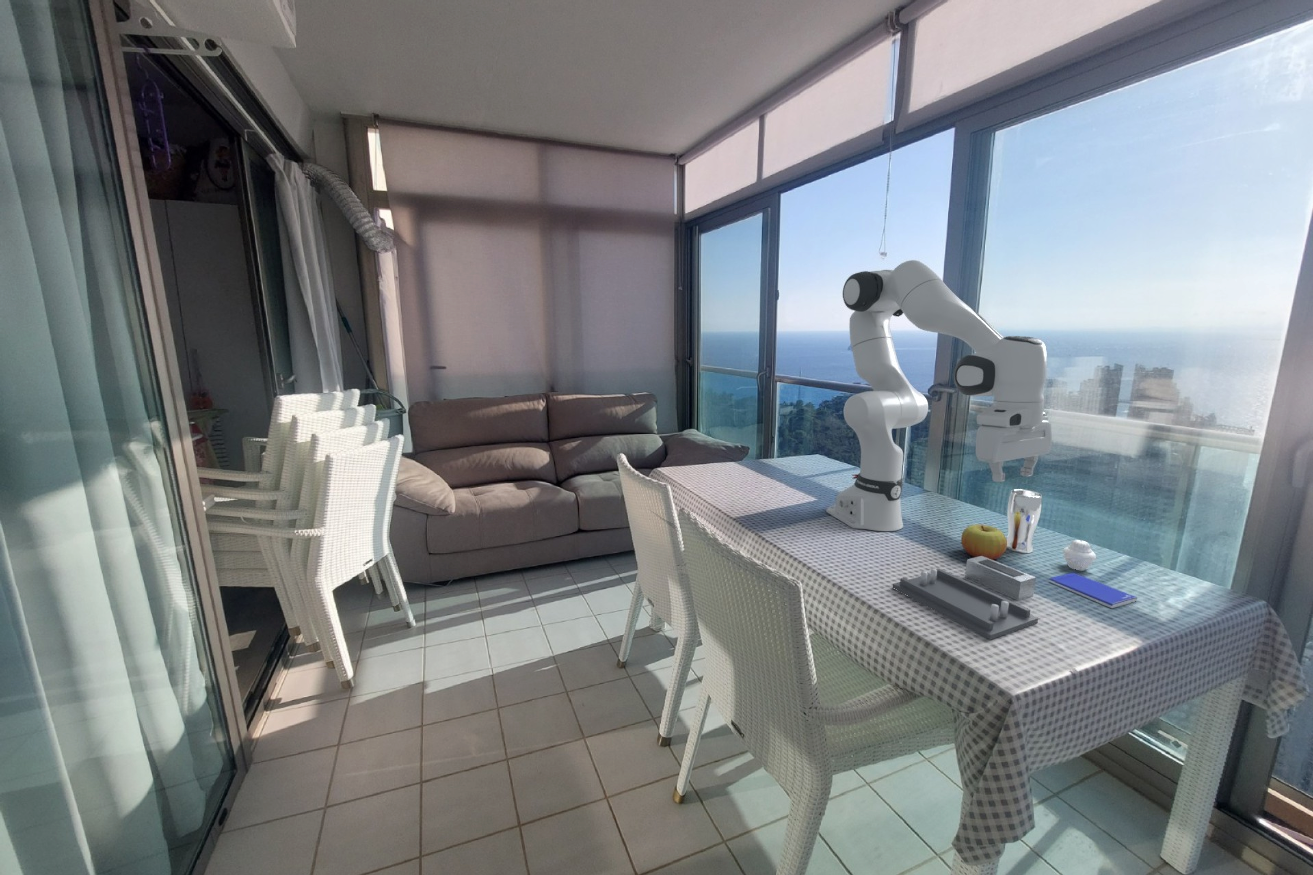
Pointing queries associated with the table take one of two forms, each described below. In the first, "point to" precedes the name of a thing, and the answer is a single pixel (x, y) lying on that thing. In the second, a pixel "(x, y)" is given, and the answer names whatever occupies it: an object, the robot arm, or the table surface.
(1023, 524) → the beer glass
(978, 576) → the block
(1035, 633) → the table surface
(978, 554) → the apple
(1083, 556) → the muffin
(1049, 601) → the table surface
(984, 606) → the tray
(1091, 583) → the hard drive
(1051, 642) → the table surface
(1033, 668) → the table surface
